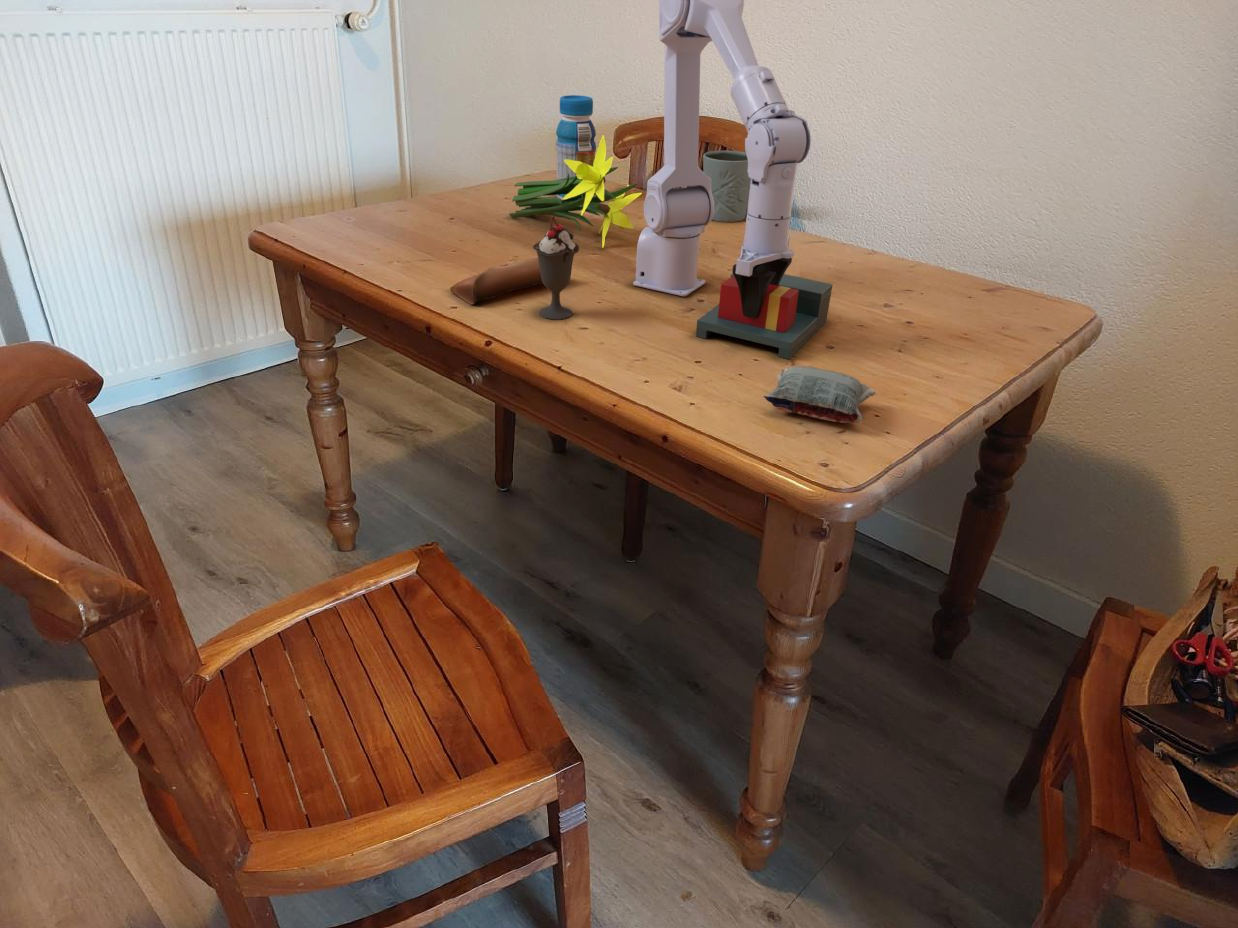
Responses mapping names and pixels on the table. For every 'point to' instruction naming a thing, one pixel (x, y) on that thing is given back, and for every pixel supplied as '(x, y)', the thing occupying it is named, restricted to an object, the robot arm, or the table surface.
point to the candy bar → (774, 309)
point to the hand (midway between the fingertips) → (756, 311)
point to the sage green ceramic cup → (728, 184)
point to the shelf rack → (806, 324)
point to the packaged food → (819, 394)
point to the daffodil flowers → (584, 181)
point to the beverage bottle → (575, 134)
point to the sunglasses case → (498, 281)
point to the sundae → (556, 267)
